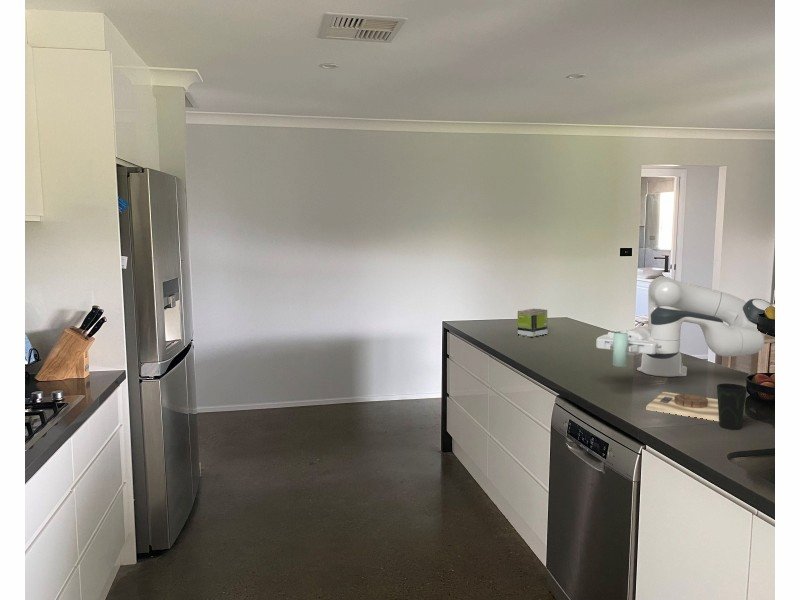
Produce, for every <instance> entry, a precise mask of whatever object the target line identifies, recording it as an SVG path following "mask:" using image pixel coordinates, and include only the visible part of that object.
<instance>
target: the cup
mask: <svg viewBox="0 0 800 600" xmlns="http://www.w3.org/2000/svg"><path fill="white" fill-rule="evenodd" d="M747 390H748V387H746V386H745V385H742V384H737V383H725V382H724V383H718V384H716V393H717V395H716V396H717V399H718V412H719V421H718V423H719V424H718V425H719V427H720V428H722V429H725V430H729V431H731V430H732V431H737V430H741V429H742V424H743V417H744V412H745V404H746V397H747Z"/></svg>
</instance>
